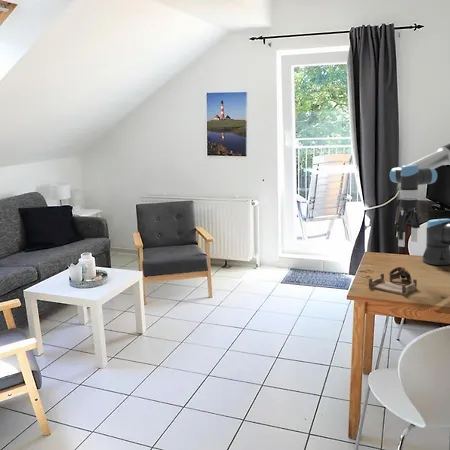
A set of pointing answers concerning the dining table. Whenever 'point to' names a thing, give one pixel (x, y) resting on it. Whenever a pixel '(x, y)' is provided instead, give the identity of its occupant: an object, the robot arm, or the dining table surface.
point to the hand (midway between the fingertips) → (407, 244)
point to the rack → (391, 286)
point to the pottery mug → (400, 274)
